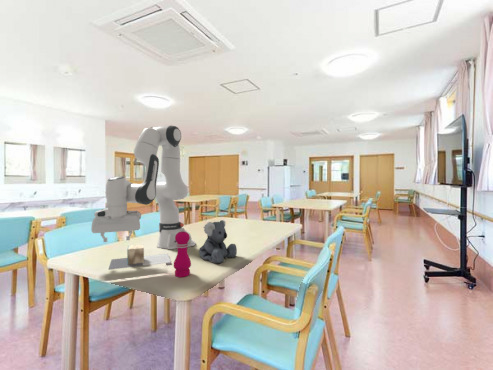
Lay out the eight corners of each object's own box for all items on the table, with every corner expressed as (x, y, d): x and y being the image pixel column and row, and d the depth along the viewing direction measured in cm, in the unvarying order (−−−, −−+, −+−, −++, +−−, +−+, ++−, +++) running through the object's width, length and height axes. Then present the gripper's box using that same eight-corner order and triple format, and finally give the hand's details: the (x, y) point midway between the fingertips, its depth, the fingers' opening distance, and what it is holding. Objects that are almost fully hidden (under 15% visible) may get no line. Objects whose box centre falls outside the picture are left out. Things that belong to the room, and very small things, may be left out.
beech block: (128, 260, 124) (143, 258, 126) (127, 264, 117) (143, 262, 120) (128, 245, 123) (143, 244, 126) (127, 249, 117) (143, 248, 120)
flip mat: (167, 255, 135) (167, 253, 135) (171, 264, 121) (171, 262, 121) (111, 261, 124) (111, 259, 124) (108, 271, 111) (108, 269, 111)
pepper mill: (175, 271, 112) (175, 226, 111) (192, 271, 112) (192, 226, 112) (172, 278, 104) (172, 229, 104) (189, 277, 105) (189, 229, 104)
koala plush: (218, 265, 120) (218, 224, 119) (191, 258, 130) (191, 220, 129) (239, 256, 134) (239, 219, 134) (213, 250, 144) (213, 216, 144)
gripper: (140, 209, 125) (140, 237, 125) (92, 211, 117) (93, 241, 117) (141, 211, 119) (141, 240, 120) (90, 213, 111) (90, 244, 111)
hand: (117, 240), depth 118 cm, fingers open, 8 cm apart
